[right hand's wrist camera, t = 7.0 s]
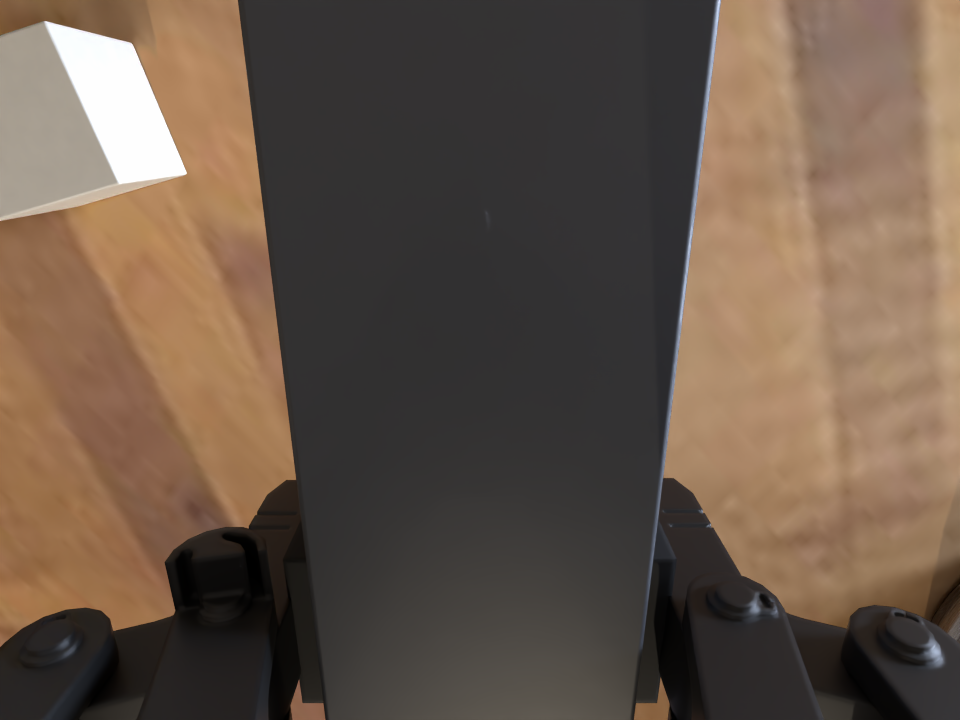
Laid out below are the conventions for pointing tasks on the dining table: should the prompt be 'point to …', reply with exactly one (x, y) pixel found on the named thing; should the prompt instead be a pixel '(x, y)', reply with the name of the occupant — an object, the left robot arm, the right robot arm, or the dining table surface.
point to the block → (76, 121)
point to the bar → (479, 333)
